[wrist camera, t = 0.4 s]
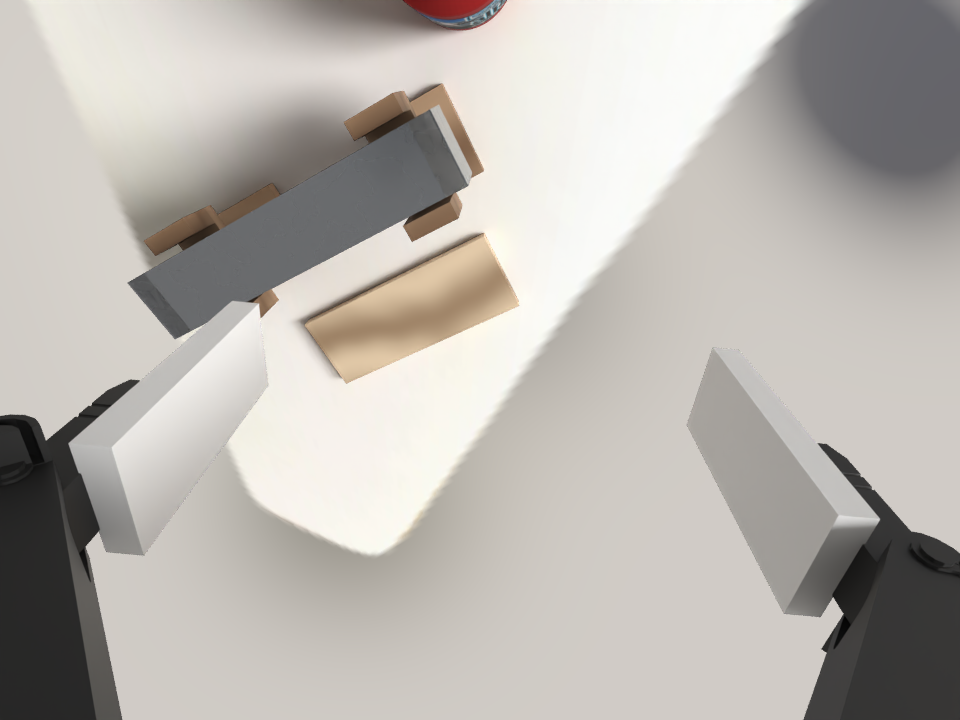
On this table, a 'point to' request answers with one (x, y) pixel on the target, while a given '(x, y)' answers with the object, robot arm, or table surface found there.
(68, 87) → the table surface
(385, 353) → the light wooden board
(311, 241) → the rail
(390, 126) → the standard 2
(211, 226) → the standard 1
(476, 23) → the beverage can
